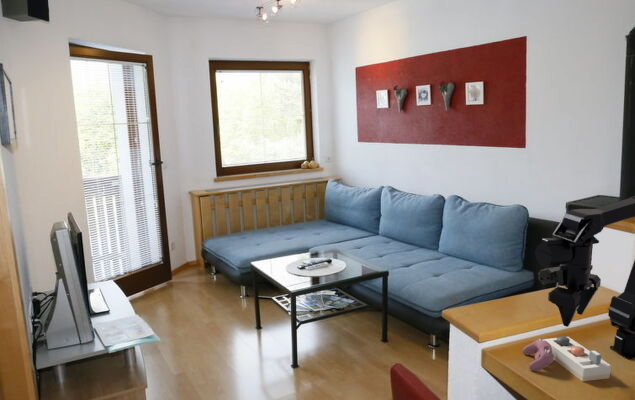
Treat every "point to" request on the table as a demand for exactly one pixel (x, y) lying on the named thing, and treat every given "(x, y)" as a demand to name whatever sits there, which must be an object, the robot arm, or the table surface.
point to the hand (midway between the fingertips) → (572, 320)
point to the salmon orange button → (577, 351)
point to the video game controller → (539, 354)
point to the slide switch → (595, 357)
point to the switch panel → (578, 362)
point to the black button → (563, 341)
